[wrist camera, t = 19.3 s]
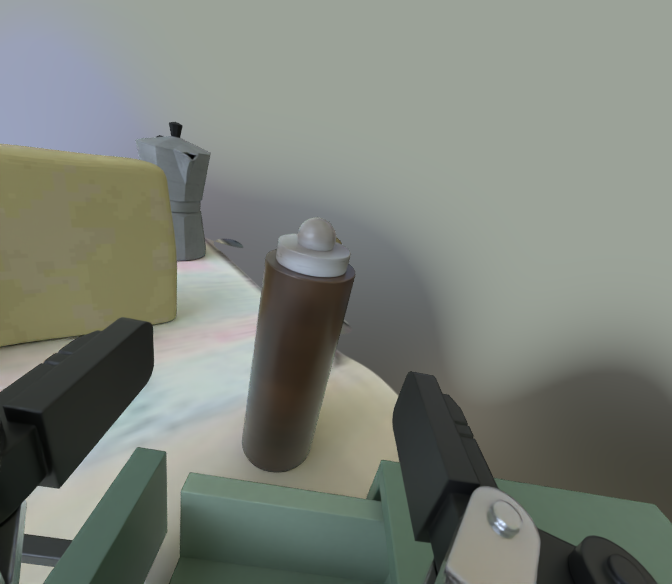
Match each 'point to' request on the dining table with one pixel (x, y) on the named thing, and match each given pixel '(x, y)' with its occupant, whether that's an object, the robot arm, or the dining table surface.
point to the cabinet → (548, 515)
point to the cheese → (82, 243)
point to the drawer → (219, 533)
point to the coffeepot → (181, 186)
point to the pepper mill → (295, 343)
